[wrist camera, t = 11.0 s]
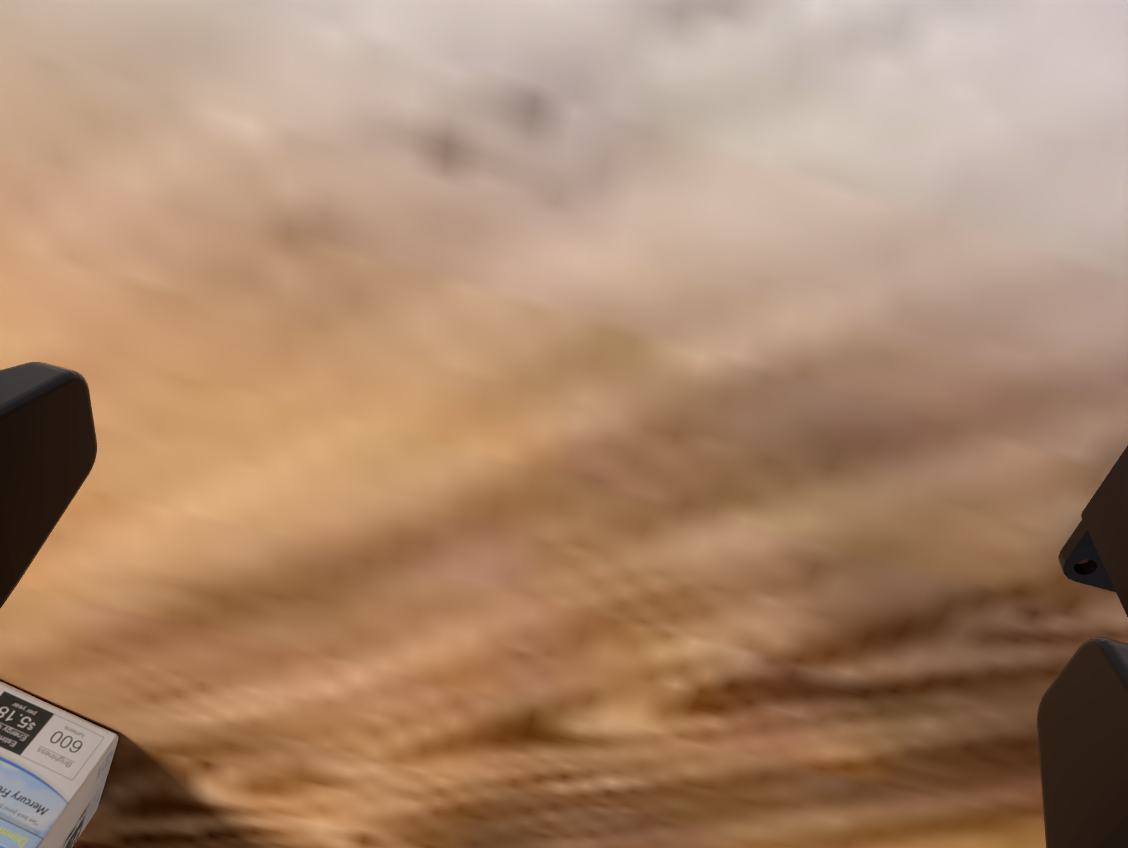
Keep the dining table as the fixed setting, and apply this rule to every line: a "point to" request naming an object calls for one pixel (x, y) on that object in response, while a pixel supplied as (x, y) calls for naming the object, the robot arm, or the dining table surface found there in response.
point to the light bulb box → (48, 771)
